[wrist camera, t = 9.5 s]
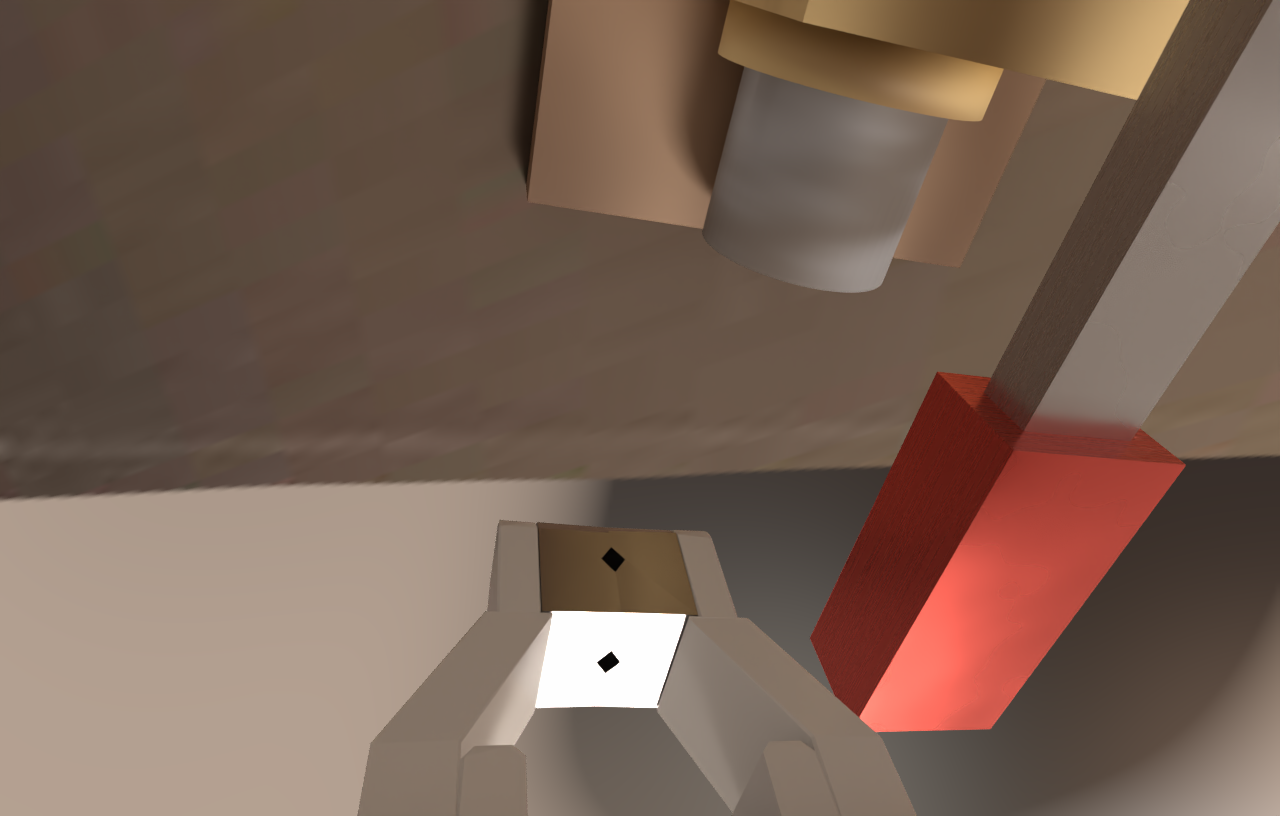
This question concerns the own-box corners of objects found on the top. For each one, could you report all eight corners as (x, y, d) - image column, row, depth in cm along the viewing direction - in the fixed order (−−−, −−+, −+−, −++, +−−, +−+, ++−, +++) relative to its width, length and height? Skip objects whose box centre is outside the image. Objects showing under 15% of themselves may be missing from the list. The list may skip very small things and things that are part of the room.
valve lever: (1396, -635, 6) (1735, -848, 4) (1644, -487, 7) (2016, -622, 5) (800, 638, 14) (840, 732, 12) (944, 639, 15) (999, 728, 13)
